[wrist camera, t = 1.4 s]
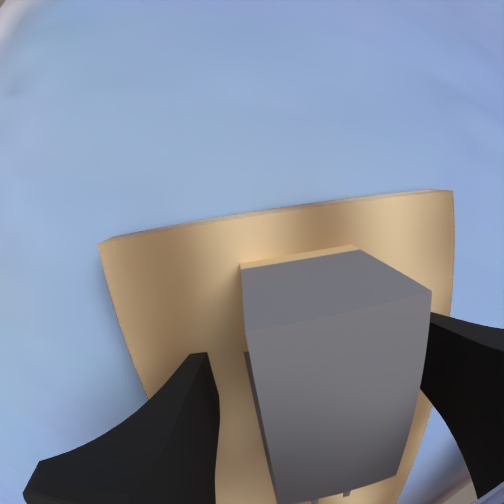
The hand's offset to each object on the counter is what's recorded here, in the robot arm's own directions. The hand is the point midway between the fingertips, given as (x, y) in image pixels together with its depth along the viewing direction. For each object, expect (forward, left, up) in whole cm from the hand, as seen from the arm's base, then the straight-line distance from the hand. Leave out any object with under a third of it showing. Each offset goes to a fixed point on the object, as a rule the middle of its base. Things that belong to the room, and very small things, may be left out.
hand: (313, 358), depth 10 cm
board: (0, +8, -3) cm, 8 cm away
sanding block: (0, 0, -1) cm, 1 cm away
